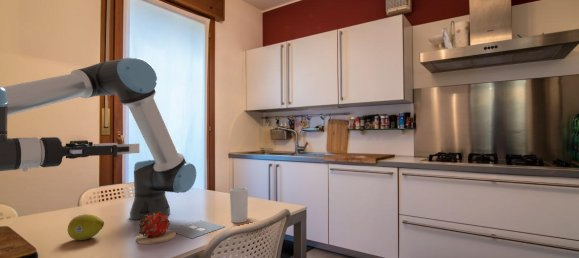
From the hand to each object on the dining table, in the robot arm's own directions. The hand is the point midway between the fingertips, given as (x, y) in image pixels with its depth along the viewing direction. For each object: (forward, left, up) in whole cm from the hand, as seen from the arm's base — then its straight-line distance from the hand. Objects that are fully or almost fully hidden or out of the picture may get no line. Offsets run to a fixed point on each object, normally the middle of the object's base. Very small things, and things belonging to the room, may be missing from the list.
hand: (127, 147), depth 92 cm
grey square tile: (+4, +22, -30) cm, 37 cm away
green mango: (-18, -5, -30) cm, 36 cm away
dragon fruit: (0, +9, -30) cm, 31 cm away
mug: (+9, +39, -30) cm, 50 cm away
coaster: (0, +9, -30) cm, 31 cm away
